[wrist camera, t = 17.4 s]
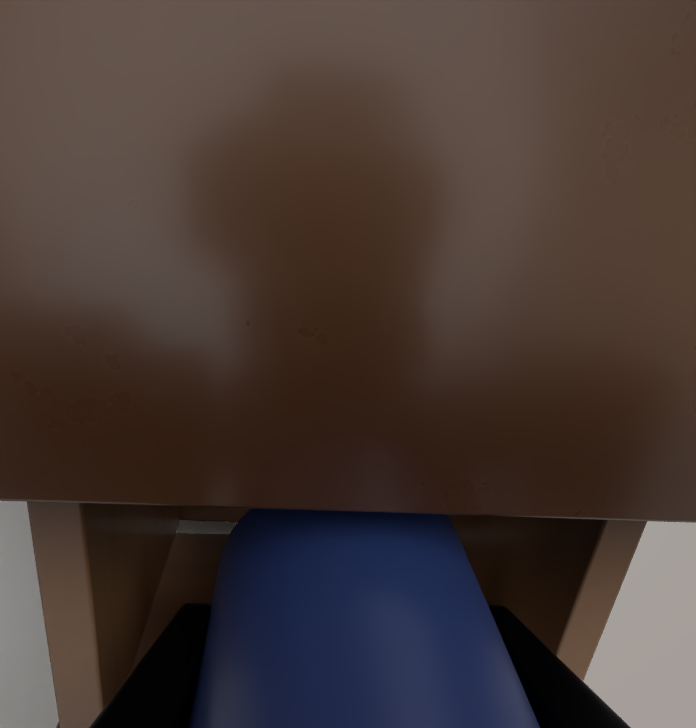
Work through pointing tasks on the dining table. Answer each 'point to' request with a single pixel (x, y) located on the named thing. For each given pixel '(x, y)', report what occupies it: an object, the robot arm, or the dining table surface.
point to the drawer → (200, 567)
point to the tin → (352, 628)
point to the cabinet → (350, 255)
